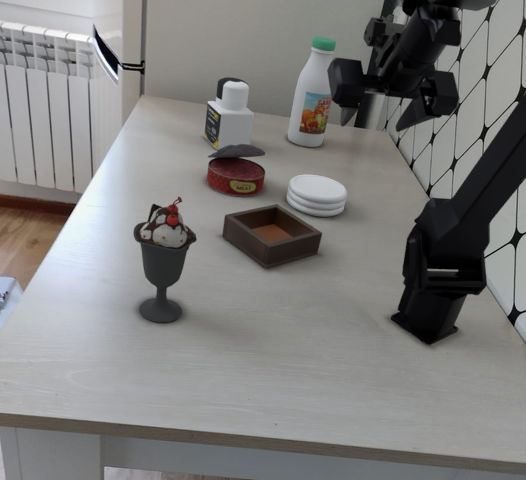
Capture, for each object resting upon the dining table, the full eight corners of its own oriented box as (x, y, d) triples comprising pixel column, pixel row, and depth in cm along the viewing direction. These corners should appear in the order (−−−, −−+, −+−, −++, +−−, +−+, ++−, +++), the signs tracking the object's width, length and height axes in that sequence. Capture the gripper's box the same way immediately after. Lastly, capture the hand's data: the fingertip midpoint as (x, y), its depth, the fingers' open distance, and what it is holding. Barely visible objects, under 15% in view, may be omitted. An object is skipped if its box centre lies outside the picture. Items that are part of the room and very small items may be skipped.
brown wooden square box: (317, 254, 86) (322, 232, 84) (265, 269, 80) (269, 246, 78) (273, 224, 92) (277, 203, 90) (221, 236, 86) (224, 214, 84)
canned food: (207, 213, 102) (184, 158, 96) (229, 188, 109) (209, 136, 103) (265, 202, 96) (244, 143, 91) (284, 176, 104) (265, 120, 98)
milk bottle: (282, 141, 124) (301, 37, 111) (291, 132, 130) (310, 32, 118) (317, 150, 123) (340, 46, 110) (325, 140, 129) (347, 40, 116)
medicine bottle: (203, 136, 118) (209, 73, 111) (236, 137, 121) (243, 75, 114) (216, 150, 113) (223, 85, 106) (249, 150, 116) (259, 86, 109)
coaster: (296, 217, 95) (300, 197, 93) (278, 191, 102) (282, 172, 100) (352, 218, 98) (357, 198, 96) (330, 193, 106) (335, 174, 103)
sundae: (179, 333, 66) (190, 210, 57) (122, 318, 67) (124, 194, 58) (196, 303, 71) (208, 186, 62) (143, 290, 72) (148, 172, 63)
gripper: (470, 8, 80) (415, 90, 95) (343, -13, 75) (305, 77, 90) (487, 73, 77) (427, 148, 91) (356, 56, 72) (314, 138, 86)
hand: (369, 126), depth 90 cm, fingers open, 9 cm apart
